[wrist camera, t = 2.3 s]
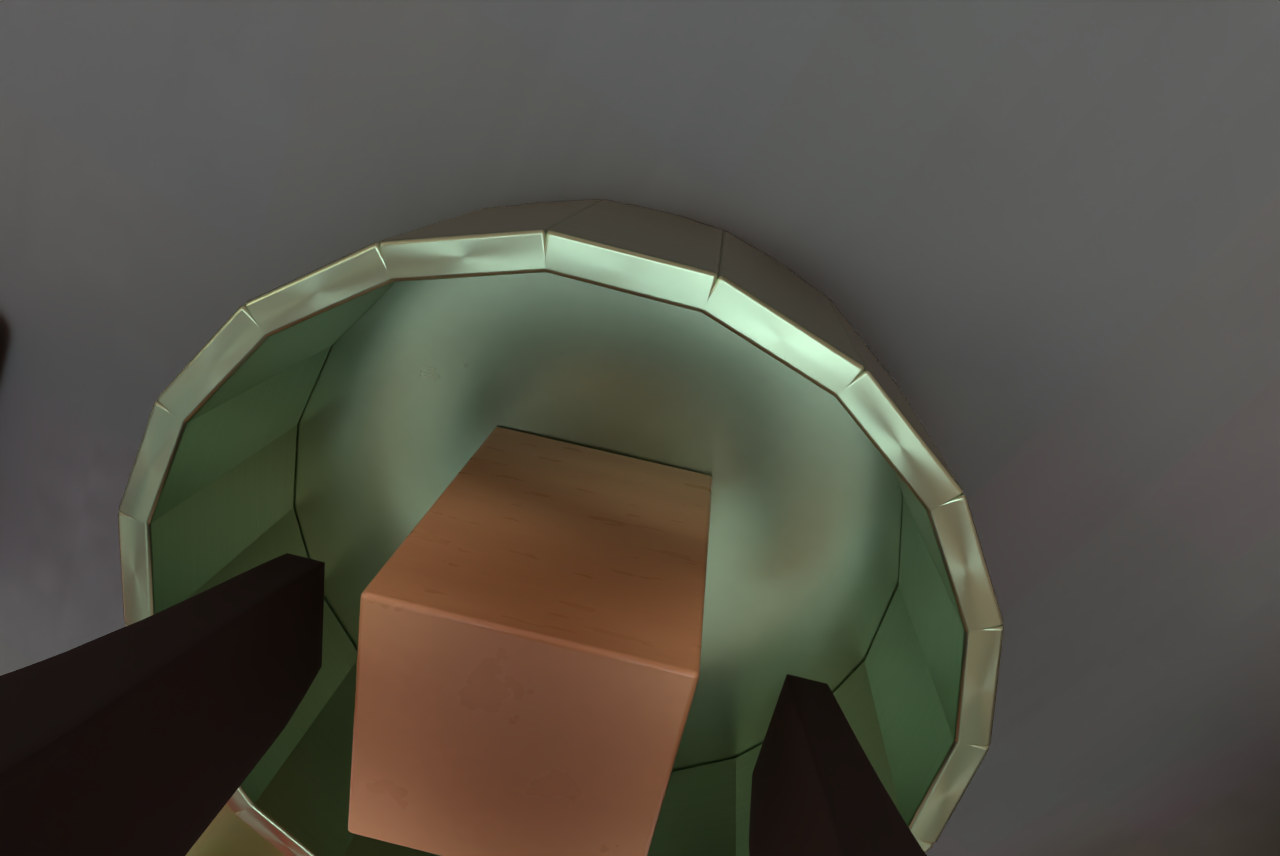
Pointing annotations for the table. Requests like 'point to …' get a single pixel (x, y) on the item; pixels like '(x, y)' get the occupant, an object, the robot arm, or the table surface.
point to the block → (532, 656)
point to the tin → (599, 419)
